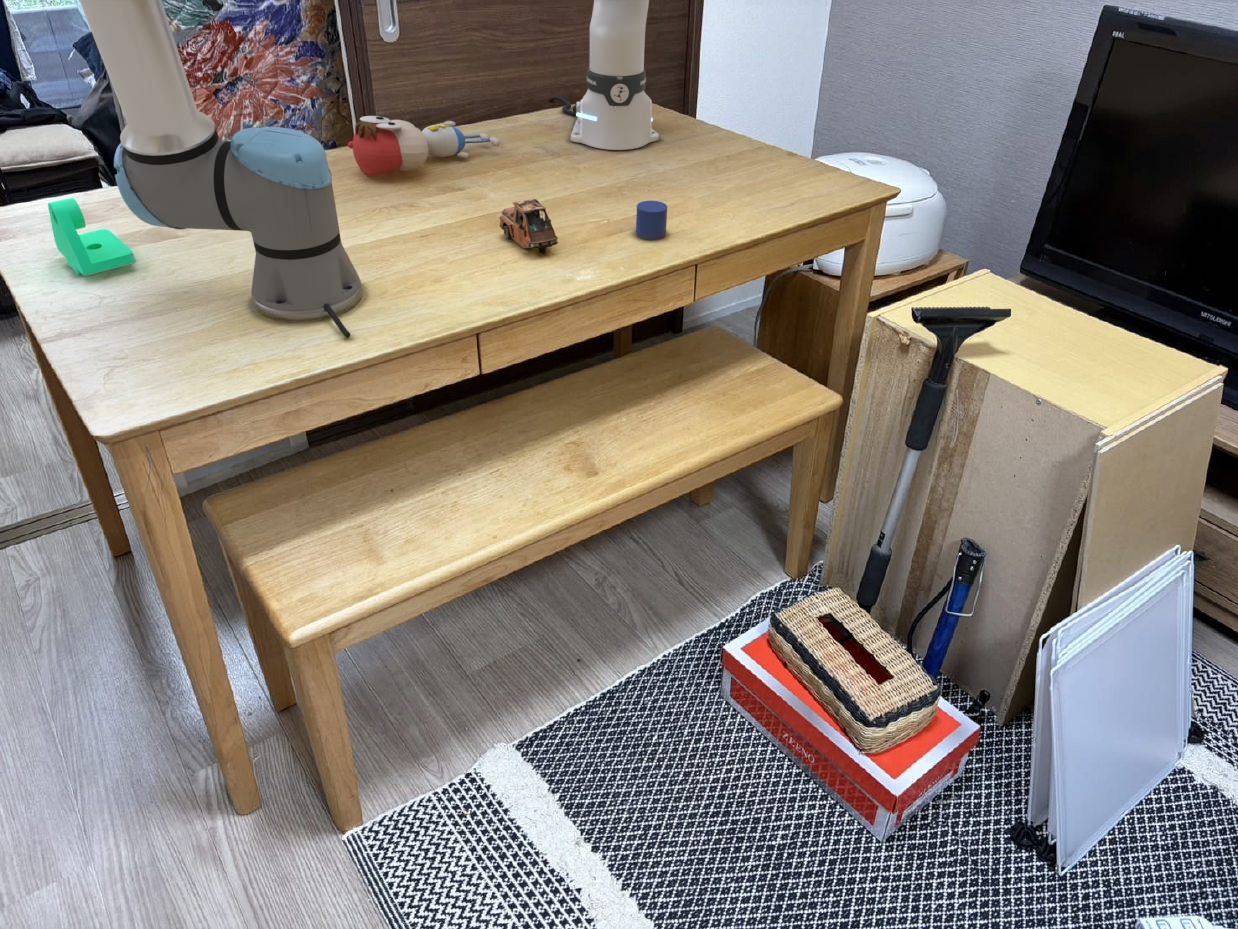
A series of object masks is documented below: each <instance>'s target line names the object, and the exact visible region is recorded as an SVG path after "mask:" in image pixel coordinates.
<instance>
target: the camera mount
mask: <svg viewBox="0 0 1238 929" xmlns="http://www.w3.org/2000/svg"><path fill="white" fill-rule="evenodd" d="M47 206H48V213H49V217H50V218H49V219H50V223H51V227H52V234H53V239H54V242H55V245H56V248H57V250H58V252H60V253H61V254H62V255H63V257H64V258H65V259H66V262H67V265H68V266H69V267H70V268H71V269H72V270H73V271H74V272H75V273H76V274H77V275H78V276H79V275H82V276H83V277H87V276H91V275H95V274H98V273H102V272H106V271H110V270H114V269H117V268H118V269H119V268H121V267H126V266H130V265H133V264H134V263H135V262H136V258H135V256H134V252H133V250H132V249H131V248H130V247H128V245H126V244H125V243H124V242H123V241H122V240H121V239H120V238H118V237H117V236H116V235H115V234H114V233H113V232H112V231H110V229H106V228H104V229H103V228H102V229H97V230H94V231H89V232H85V233H84V232H83V233H81V234H79V233H78V231H77V230H81V229H84V228H85V229H86V226H87V225H86V221H85V216H84V214H83V212H82V210H81V207H80V205H79V204H78V202H77V200H76V199H75V198H74V197H70V198H65V199H61V200H56V201H51V202H48V203H47Z"/></svg>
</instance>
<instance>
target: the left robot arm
mask: <svg viewBox="0 0 1238 929" xmlns="http://www.w3.org/2000/svg"><path fill="white" fill-rule="evenodd" d="M78 1H79V3H80V6H81V8H82V11H83V13H84V16H85V18H86V21H87V23H88V26H89V29H90V31H91V35H92V36H93V39H94V42H95V45H96V47H97V50H98V52H99V55H100V57H101V59H102V63H103V65H104V67H105V70H106V72H107V75H108V77H109V80H110V83H111V85H112V88H113V91H114V93H115V96H116V98H117V101H118V103H119V106H120V109H121V111H122V114H123V116H124V119H125V122H126V125H125V126H124V128H123V129H122V131H121V133H120V136H119V139H120V143H119V144H118V146H117V147H116V150H115V153H114V157H113V168H114V169H115V170H116V172H117V174H114V178H115V183H116V185H117V189H118V192H119V194H120V196H121V198H122V200H123V201H124V204H125V205H126V206H127V208H128V209H129V210H130V211H131V213H132V214H133V215H134V216H136V218H137V219H139V220H140V221H142V222H144V223H145V224H148V225H150V226H154V227H161V228H163V227H164V228H169V229H173V230H187V229H189V230H190V229H192V230H193V229H195V230H214V231H215V230H220V231H243V232H249V233H250V234H251V237H252V238H251V239H252V242H253V247H254V251H255V258H254V264H253V273H252V283H251V291H250V293H251V299H252V303H253V307H254V309H255V310H256V311H257V313H259V314H260V315H262V316H264V317H266V318H268V319H271V320H275V321H281V322H289V323H304V322H314V321H315V322H316V321H320V320H326V319H330V318H331V320H332V321H333V322H334V324H335V326H336V327H337V328H338V330H339V331H340V332H341V333H342V335H343V336H344V337H345V338H347V339H349V338H350V337H351V336H352V334H351V333H350V332H349V330H348V329H347V328H346V326H345V325H344V323H343V322H342V321H341V319H340V318H339V316H338V315H341V314H343V313H345V312H348V311H349V310H351V309H353V308H354V307H355V306H356V305H357V304H358V303H359V302H360V301H361V298H362V297H363V287H362V282H361V278H360V276H359V274H358V272H357V270H356V268H355V266H354V264H353V263H352V261H351V259H350V257H349V255H348V253H347V251H346V250H345V248H344V245H343V243H342V239H341V233H340V225H339V219H338V213H337V206H336V200H335V196H334V195H335V194H334V187H333V174H332V171H331V169H330V166H329V162H328V158H327V152H326V150H325V148H324V146H323V145H322V144H321V143H320V142H319V140H317V139H315V138H314V137H313V136H311V135H310V134H308V133H306V132H303V131H300V130H297V129H294V128H293V129H292V128H289V127H282V126H280V127H279V126H263V127H255V126H254V127H249V128H248V127H247V128H244V129H241V130H238V131H237V132H235V133H234V134H233V135H232V137H231V139H230V140H221V139H220V137H219V133H218V131H217V127H216V123H215V122H214V119H212V117H210V116H209V115H207V114H206V113H203V112H202V111H200V110H198V108H197V104H196V101H195V98H194V96H193V92H192V89H191V86H190V83H189V80H188V77H187V73H186V71H185V67H184V64H183V62H182V58H181V55H180V53H179V49H178V47H177V43H176V39H175V38H174V33H173V30H172V29H171V25H170V22H169V19H168V16H167V13H166V10H165V7H164V3H163V0H78Z"/></svg>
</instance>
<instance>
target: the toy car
mask: <svg viewBox="0 0 1238 929" xmlns="http://www.w3.org/2000/svg"><path fill="white" fill-rule="evenodd" d="M512 205H513V206H511V207H506V208H504V209H503V210H502V211H501V215H500V216H499V228H500V229H501V230H503V235H504V237H505V239H506V240H511V241H514V242H515V243H516V244H518V245H519V246H520V247H521V248H522V249H524V250H527V251H531V250H535V249H537V250H538V253H539V254H541V255H545V254H546V253H547V249H548V248H552V247H553V246H556V245H558V244H559V242H558V239H559V237H558V236H557V234H556V231H555V229H554V227H553V224H552V219H550V217H549V215H548V213H547V208H546V207H545V206H544V205H543V204H542V203H540V202H539V199H537V198H529V199H528V198H527V199H524V200H523V199H522V200H517V201H513V202H512ZM541 212H542V213H544V216H543V214H541ZM541 216H542V217H541Z"/></svg>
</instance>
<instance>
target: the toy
mask: <svg viewBox="0 0 1238 929" xmlns="http://www.w3.org/2000/svg"><path fill="white" fill-rule="evenodd" d="M359 120H360V121H359V122H358V121H357V122H356V124H355V126H354V132H355V133H354V134H353V138H352V140H350V141H349V142H348V143H347V147H348V148H349V149H350V150H351V149H352V154H353V157H354V160H355V163H356V164H357V167H358V168H359V170H360V172H361V173H362V174H363V175H365V176H367V177H378V176H383V175H387V174H390V173H394V172H396V171H401V172H411V171H415V170H418V169H419V168H421V167H422V166H423V165H424V163H425V162H426V160H427V159H428V155H429V156H432V157H436V158H437V157H438V158H446V157H452V156H454V155H456V156H457V157H458V158H459V159H460V158H461V159H465V158H468V157H469V155H470V154H469V153H468V152H466V151H463V150H464V148H465V147H466V144H483V143H490V144H491V145H492V146H494V147H497V148H498V147H500V146H501V144H502V143H501V140H500V139H499V138H498V137H494V136H492V137H490V135H489V134H488V133H485V132H480V133H479V134H475V135H464V133H463V132H462V130H460V129H458V128H457V127H455V126H456V122H455V121H454V120H453V121H452V120H446V121H444V122H440V123H436V124H432V125H429V126H426V127H425V128H424V129H422V130H421V129H419V128H418V127H417V125H416V124H414V123H412V122H410V121H407V120H404V119H401V118H400V119H390V118H387V117H385V116H379V115H365V116H361V117H360V118H359ZM478 138H479V140H467V139H478Z"/></svg>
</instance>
